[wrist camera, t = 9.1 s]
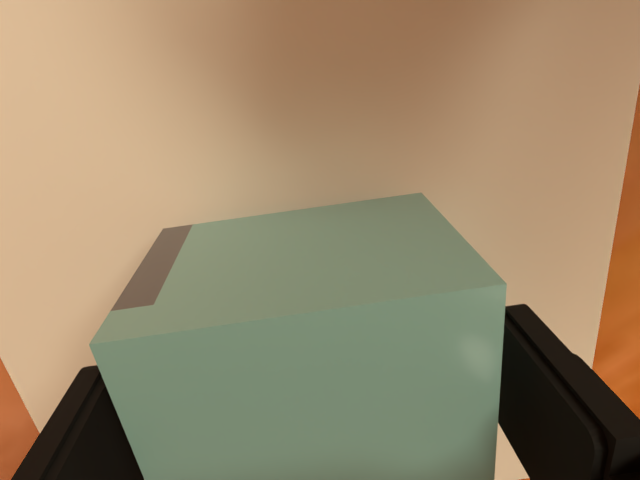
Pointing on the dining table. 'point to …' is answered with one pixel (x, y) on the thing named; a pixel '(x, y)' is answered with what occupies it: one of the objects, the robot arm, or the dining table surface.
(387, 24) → the post block
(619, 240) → the dining table surface
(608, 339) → the dining table surface
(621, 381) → the dining table surface
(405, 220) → the sage green cube
